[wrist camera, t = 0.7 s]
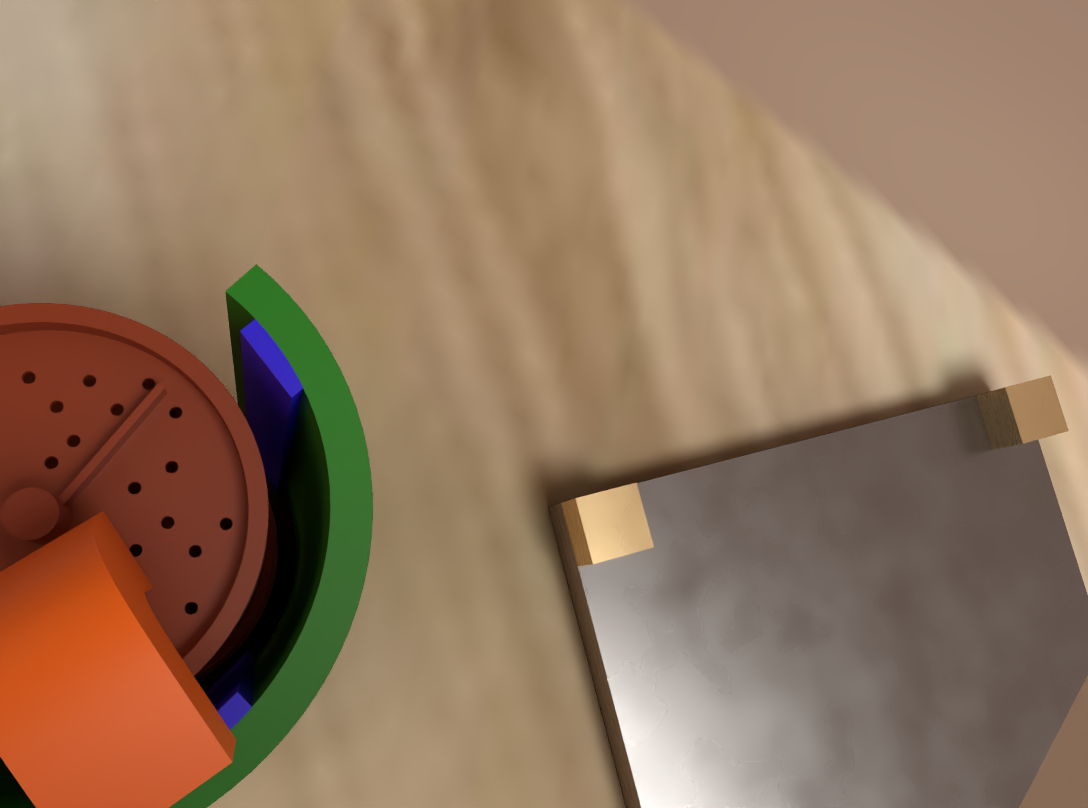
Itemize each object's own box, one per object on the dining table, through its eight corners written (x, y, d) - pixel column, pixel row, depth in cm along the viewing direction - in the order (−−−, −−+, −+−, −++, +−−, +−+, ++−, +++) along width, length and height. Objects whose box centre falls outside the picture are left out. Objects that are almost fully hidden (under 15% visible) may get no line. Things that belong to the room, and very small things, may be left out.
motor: (186, 347, 31) (91, -32, 12) (388, 561, 32) (597, 516, 13) (-112, 586, 28) (-865, 574, 9) (119, 820, 29) (-134, 1271, 10)
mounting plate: (548, 506, 33) (575, 498, 31) (992, 392, 39) (1050, 375, 36) (698, 1082, 31) (743, 1131, 29) (1144, 876, 37) (1219, 899, 34)
